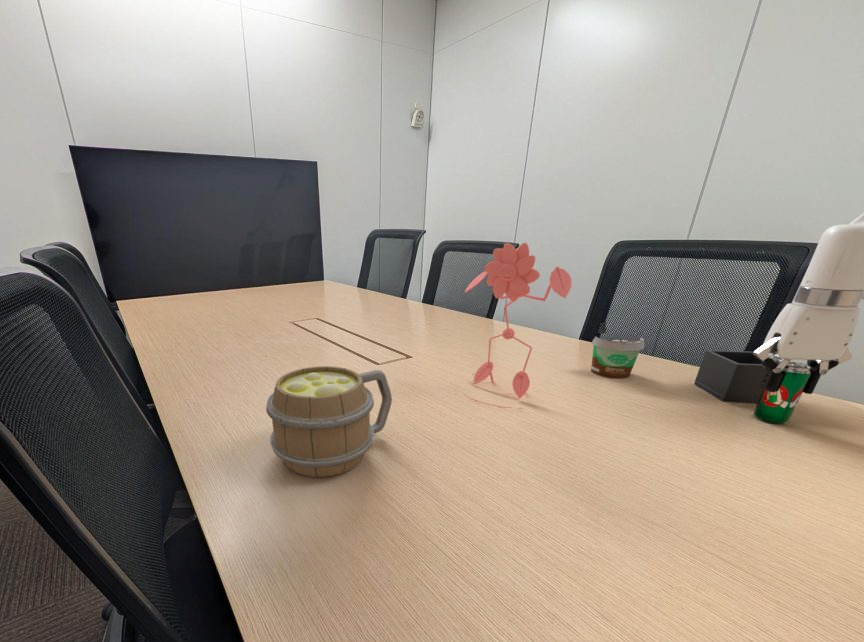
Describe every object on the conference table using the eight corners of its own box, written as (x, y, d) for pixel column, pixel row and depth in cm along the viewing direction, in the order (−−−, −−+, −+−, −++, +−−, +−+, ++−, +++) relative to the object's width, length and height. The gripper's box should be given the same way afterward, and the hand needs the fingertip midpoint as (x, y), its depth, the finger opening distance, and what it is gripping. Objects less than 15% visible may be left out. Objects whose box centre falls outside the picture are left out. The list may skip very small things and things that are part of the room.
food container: (594, 379, 100) (603, 342, 96) (585, 371, 105) (593, 336, 101) (645, 380, 98) (656, 343, 94) (633, 372, 103) (643, 337, 99)
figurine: (468, 372, 106) (482, 241, 93) (559, 402, 87) (593, 242, 74) (431, 385, 98) (440, 243, 85) (522, 421, 79) (553, 245, 65)
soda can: (777, 415, 79) (802, 361, 74) (794, 426, 74) (822, 370, 70) (746, 412, 80) (769, 359, 76) (761, 423, 76) (786, 367, 71)
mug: (420, 451, 69) (424, 376, 63) (297, 500, 58) (288, 413, 52) (365, 414, 84) (364, 350, 78) (259, 446, 72) (248, 374, 67)
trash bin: (742, 386, 93) (757, 351, 89) (778, 404, 83) (795, 366, 80) (693, 384, 95) (705, 350, 91) (722, 401, 85) (737, 364, 82)
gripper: (863, 295, 69) (819, 385, 76) (754, 294, 72) (721, 381, 79) (910, 302, 62) (856, 401, 69) (787, 301, 66) (748, 395, 73)
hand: (785, 389), depth 74 cm, fingers closed on soda can, 5 cm apart
